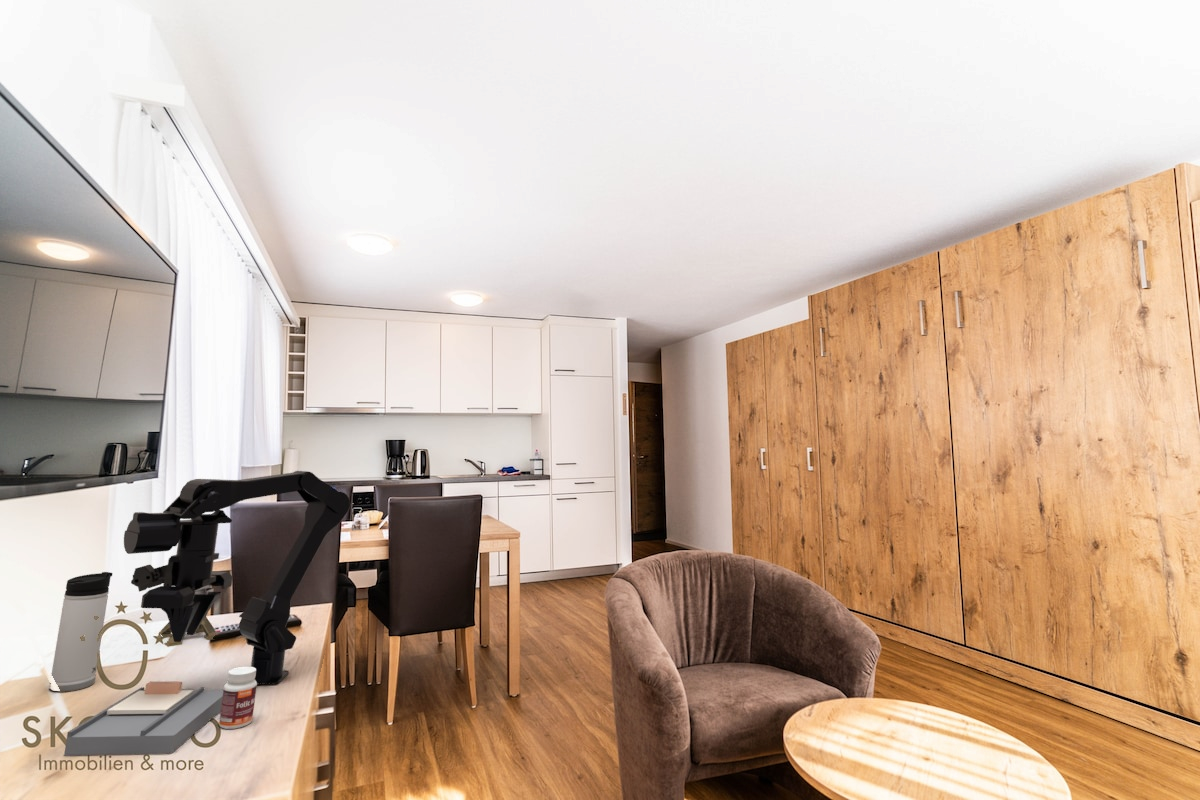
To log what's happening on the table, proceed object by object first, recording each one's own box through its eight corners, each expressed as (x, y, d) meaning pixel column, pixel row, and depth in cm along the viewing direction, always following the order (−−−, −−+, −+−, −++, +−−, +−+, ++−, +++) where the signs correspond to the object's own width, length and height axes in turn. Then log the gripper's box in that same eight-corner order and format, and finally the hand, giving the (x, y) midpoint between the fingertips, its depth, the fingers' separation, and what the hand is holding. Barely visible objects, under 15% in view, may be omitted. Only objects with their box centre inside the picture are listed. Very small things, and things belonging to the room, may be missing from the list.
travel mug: (104, 682, 108) (121, 573, 111) (62, 694, 102) (81, 579, 104) (83, 677, 110) (99, 570, 113) (40, 688, 104) (59, 575, 106)
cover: (138, 694, 97) (140, 680, 98) (192, 694, 99) (194, 680, 99) (106, 714, 89) (108, 699, 90) (165, 713, 91) (167, 699, 91)
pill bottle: (236, 731, 92) (243, 676, 93) (211, 727, 93) (218, 673, 94) (259, 719, 97) (265, 667, 98) (235, 715, 98) (241, 664, 99)
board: (141, 704, 100) (144, 685, 100) (229, 703, 102) (231, 684, 102) (64, 755, 82) (67, 732, 83) (171, 753, 84) (174, 730, 85)
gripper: (176, 540, 112) (164, 623, 110) (112, 555, 94) (97, 655, 92) (238, 542, 114) (227, 624, 112) (187, 557, 96) (173, 655, 94)
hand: (184, 638), depth 102 cm, fingers open, 4 cm apart
